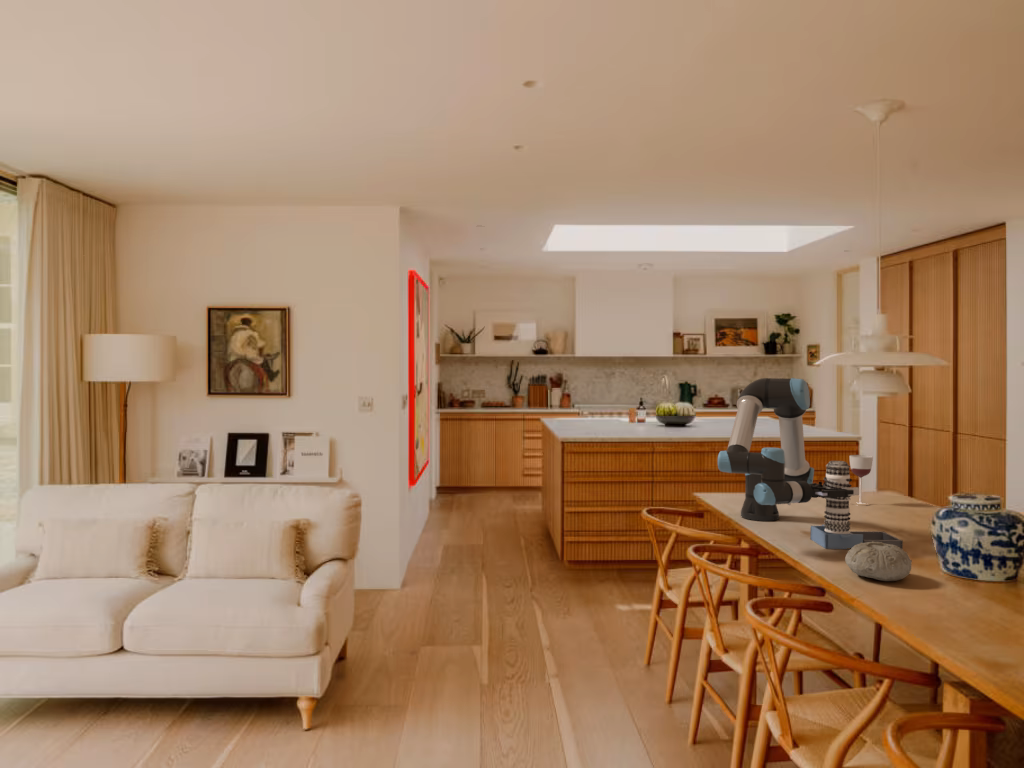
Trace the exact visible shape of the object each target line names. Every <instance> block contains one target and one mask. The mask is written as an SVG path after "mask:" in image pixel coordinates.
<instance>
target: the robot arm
mask: <svg viewBox="0 0 1024 768" xmlns="http://www.w3.org/2000/svg"><path fill="white" fill-rule="evenodd" d="M809 389H810V388H809V386H808V383H807V381H806V380H804V379H803V378H795V377H791V378H780V377H779V378H778V377H777V378H773V377H770V378H768V377H762V378H758V379H756V380H753V381H752V382H750V383H749V384H748V385H746V386H745V387H744V388H743V389H742V390H741V392H740V394H739V396H737V400H736V408H737V411H736V415H735V419H734V423H733V426H732V430H731V433H730V437H729V441H728V445H727V448H726V450H720V451H719V453H718V455H717V469H718V470H719V471H720V472H722V473H728V474H743V475H744V476H745V480H744V481H745V486H744V487H745V489H744V491H745V496H744V500H743V504H742V506H741V510H740V517H741V516H742V517H741V518H743V517H744V518H743V519H746V518H747V519H746V520H750V519H751V521H757V520H759V521H758V522H771V521H777V520H779V519H780V512H779V509H778V506H777V505H787V506H791V504H805V503H809V502H810V500H812V498H813V499H815V498H816V499H817V498H821V499H825V498H835V497H843V498H844V499H845V498H847V497H848V496H851V497H852V496H859V495H860V486H851V487H849V488H843V489H829V488H825V487H827V486H825V485H824V483H823V482H822V481H818V483H816V482H813V481H814V477H815V468H814V467H811V466H810V463H809V462H808V461H807V460H806V456H805V455H806V453H805V452H806V451H805V439H804V422H803V416H804V415H805V414H806V412H807V410H809V408H810V406H811V399H810V390H809ZM763 409H772V410H773V413H774V415H775V416H776V417H778V425H779V426H778V427H779V437H780V448H779V447H767V446H766V447H763V448H761V452H750V450H751V446H752V443H753V442H752V441H753V438H754V437H753V436H754V434H755V430H756V425H757V420H758V417H759V414H760V413H761V412H762V411H763Z"/></svg>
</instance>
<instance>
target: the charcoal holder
mask: <svg viewBox="0 0 1024 768" xmlns="http://www.w3.org/2000/svg"><path fill="white" fill-rule="evenodd" d="M849 531H850V533H849V534H863V543H867V542H872V541H874V542H882V543H885V544H890V545H892V544H893V545H896V546H898V547H900V548H901V549H903V546H904V545H903V544H904V541H903V540H902V539H900V538H898V537H896V536H893V535H892V534H890V533H887V532H885V531H879V530H877V531H869V530H868V531H865V530H864V531H861V530H859V531H854V530H853V531H851V530H849ZM903 550H904V549H903Z"/></svg>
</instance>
